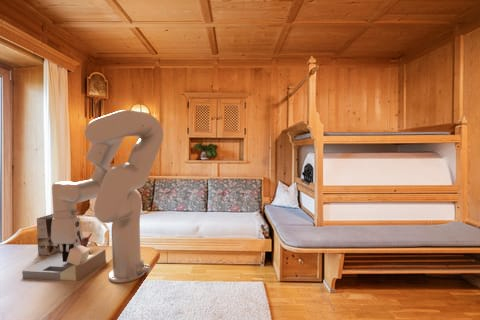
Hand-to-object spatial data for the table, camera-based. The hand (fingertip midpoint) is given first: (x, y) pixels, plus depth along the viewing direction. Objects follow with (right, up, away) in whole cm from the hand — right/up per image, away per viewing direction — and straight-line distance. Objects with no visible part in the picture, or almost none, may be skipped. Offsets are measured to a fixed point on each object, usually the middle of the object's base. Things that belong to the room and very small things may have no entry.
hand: (67, 260), depth 106 cm
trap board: (0, -3, 0) cm, 3 cm away
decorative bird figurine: (-3, -3, +16) cm, 16 cm away
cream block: (+4, 0, 0) cm, 4 cm away
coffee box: (-18, -3, +19) cm, 26 cm away
